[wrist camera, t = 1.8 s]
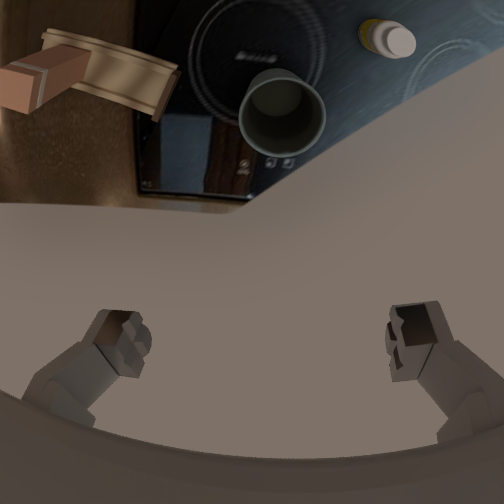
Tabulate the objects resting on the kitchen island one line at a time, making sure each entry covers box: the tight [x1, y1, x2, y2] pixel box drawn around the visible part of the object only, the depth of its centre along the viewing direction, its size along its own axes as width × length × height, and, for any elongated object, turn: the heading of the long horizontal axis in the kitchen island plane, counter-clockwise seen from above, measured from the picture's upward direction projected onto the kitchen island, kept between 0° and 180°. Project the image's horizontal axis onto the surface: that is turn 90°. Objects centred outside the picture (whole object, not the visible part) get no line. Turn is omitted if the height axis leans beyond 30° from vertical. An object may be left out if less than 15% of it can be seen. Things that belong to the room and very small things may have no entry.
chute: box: [41, 28, 182, 122], centre depth 36 cm, size 25×9×4 cm, turn 62°
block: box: [0, 44, 91, 114], centre depth 29 cm, size 6×5×15 cm
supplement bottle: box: [358, 19, 416, 59], centre depth 30 cm, size 5×5×10 cm
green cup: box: [239, 68, 326, 157], centre depth 37 cm, size 10×10×12 cm
